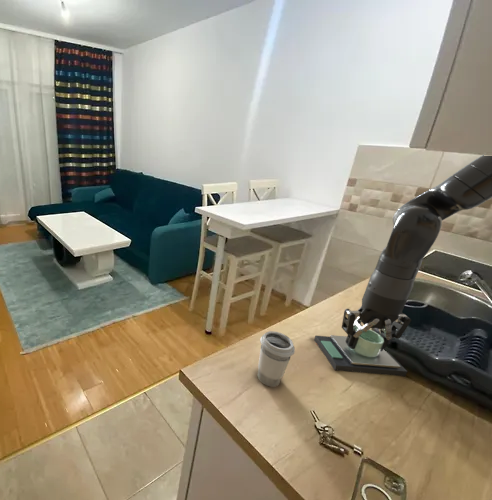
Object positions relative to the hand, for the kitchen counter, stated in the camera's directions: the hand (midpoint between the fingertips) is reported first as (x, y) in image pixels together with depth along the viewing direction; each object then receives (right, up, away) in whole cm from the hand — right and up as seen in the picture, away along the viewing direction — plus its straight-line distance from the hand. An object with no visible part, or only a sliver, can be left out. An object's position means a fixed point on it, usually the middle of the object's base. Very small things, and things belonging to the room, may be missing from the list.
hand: (363, 347), depth 73 cm
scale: (-1, -4, +2) cm, 4 cm away
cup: (-27, -6, -6) cm, 28 cm away
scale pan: (0, -1, +1) cm, 1 cm away
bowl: (0, -1, 0) cm, 1 cm away
